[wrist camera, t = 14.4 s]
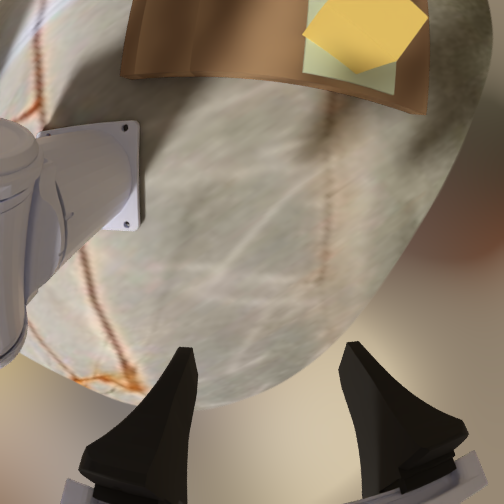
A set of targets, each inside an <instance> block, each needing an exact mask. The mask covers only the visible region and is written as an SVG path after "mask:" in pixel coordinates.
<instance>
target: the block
mask: <svg viewBox="0 0 504 504" xmlns="http://www.w3.org/2000/svg"><path fill="white" fill-rule="evenodd" d="M427 19H428V16H427V15H426V14H425V13H423V12H422V11H421V10H420V9H419V8H418V7H417V6H416V5H415V4H414V3H413V2H412V1H411V0H328V1H327V2H326V3H325V4H324V5H323V7H322V8H321V9H320V11H319V12H318V13H317V15H316V16H315V17H314V19H313V20H312V21H311V23H310V24H309V26H308V27H307V28H306V30H305V31H304V32H303V34H302V35H303V36H305V37H306V38H308V39H309V40H311V41H312V42H314V43H315V44H317V45H318V46H319V47H321V48H322V49H324V50H325V51H326V52H328V53H329V54H331V55H332V56H333V57H335V58H336V59H337V60H339V61H340V62H341V63H343V64H344V65H345V66H346V67H348V68H349V69H350V70H351V71H353V72H354V73H355V74H359V73H362V72H364V71H367V70H370V69H373V68H376V67H379V66H382V65H386V64H389V63H392V62H395V61H397V60H398V59H399V57H400V56H401V55H402V53H403V52H404V51H405V49H406V48H407V46H408V45H409V44H410V42H411V41H412V40H413V38H414V37H415V35H416V34H417V33H418V31H419V30H420V29H421V27H422V26H423V24H424V23H425V22H426V20H427Z"/></svg>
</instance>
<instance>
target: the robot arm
mask: <svg viewBox="0 0 504 504" xmlns="http://www.w3.org/2000/svg"><path fill="white" fill-rule="evenodd" d="M125 124H127V125H128V130H127V131H125V130H124V126H125ZM49 134H51V136H49ZM139 137H140V124H139V123H138V122H137V121H135V120H129V121H115V122H104V123H94V124H86V125H78V126H71V127H64V128H58V129H52V130H47V131H41V132H39V133H38V134H37V136H36V139H35V138H34V136H33V134H32V133H31V132H30V131H29V130H28V129H27V128H25V127H24V126H22V125H20V124H18V123H16V122H13V121H10V120H7V119H3V118H0V369H1V368H3V367H4V366H6V365H7V364H9V363H10V362H11V361H12V360H13V359H14V358H15V357H16V356H17V355H18V353H19V352H20V350H21V348H22V346H23V344H24V342H25V339H26V335H27V329H28V319H27V312H26V306H25V305H27V304H28V303H29V302H30V301H31V300H32V299H33V298H34V296H35V295H36V294H37V293H38V288H40V287H41V286H42V285H43V284H45V283H46V282H47V281H48V280H49V279H50V278H51V277H52V276H53V275H54V274H55V273H56V272H57V271H58V270H59V269H60V268H61V267H62V266H63V265H64V264H65V263H66V262H67V261H68V260H69V259H70V258H71V257H72V256H73V255H74V254H75V253H76V252H77V251H78V250H79V249H80V248H81V247H82V246H83V245H84V244H85V243H86V242H87V241H89V240H90V239H91V238H92V237H93V236H94V235H95V234H96V233H97V232H98V231H100V230H101V229H105V230H122V231H136V230H138V229H139V227H140V202H139ZM126 221H127V222H129V224H130V226H127V225H126V223H125V222H126ZM338 370H339V376H340V382H341V387H342V390H343V393H344V396H345V399H346V402H347V405H348V408H349V411H350V414H351V417H352V420H353V424H354V427H355V431H356V437H357V442H358V448H359V456H360V464H361V476H362V498H363V499H361V500H357V501H354V502H349V503H345V504H460V503H461V502H463V501H465V500H466V499H468V498H469V497H471V496H472V495H474V494H475V493H477V492H478V491H480V490H481V489H483V488H484V487H486V486H487V485H488V482H487V479H486V477H485V474H484V472H483V469H482V466H481V464H480V462H479V459H478V457H477V454H476V452H475V450H473V451H471V452H469V453H468V454H466V455H464V456H462V457H460V458H459V459H457V460H456V461H454V460H453V457H454V456H455V453H454V449H455V448H456V447H458V446H459V445H460V444H461V443H462V442H463V441H464V440H465V439H466V438H467V437H468V435H469V433H468V431H467V429H466V427H465V424H464V422H463V421H462V420H460V419H458V418H455V417H453V416H450V415H448V414H446V413H443V412H441V411H439V410H437V409H436V408H433V407H432V406H430V405H429V404H427V403H425V402H424V401H422V400H421V399H419V398H418V397H416V396H415V395H413V394H412V393H411V392H409V391H408V390H407V389H406V388H404V387H403V386H402V385H401V384H400V383H399V382H397V381H396V380H395V379H394V378H393V377H392V376H391V375H390V374H389V373H388V372H387V371H386V370H385V369H384V368H383V367H382V366H381V365H380V364H379V363H378V362H377V361H376V360H375V359H374V357H373V356H372V355H371V354H370V353H369V352H368V351H367V350H366V349H365V348H364V347H363V345H361V343H360V342H359V341H355V342H347V344H346V347H345V350H344V354H343V357H342V360H341V363H340V366H339V369H338ZM197 384H198V372H197V368H196V363H195V358H194V353H193V348H189V347H179V348H178V349H177V351H176V353H175V354H174V356H173V358H172V360H171V361H170V363H169V365H168V366H167V368H166V369H165V371H164V372H163V374H162V375H161V377H160V378H159V380H158V381H157V383H156V384H155V385H154V387H153V388H152V389H151V391H150V392H149V393H148V395H147V396H146V397H145V398H144V399H143V400H142V402H141V403H140V404H139V405H138V406H137V407H136V408H135V409H134V410H133V411H132V412H131V413H130V414H129V415H128V416H127V417H126V418H125V419H124V420H123V421H122V422H121V423H119V424H118V425H117V426H116V427H114V428H113V429H112V430H111V431H109V432H108V433H107V434H105V435H104V436H102V437H101V438H99V439H98V440H96V441H95V442H93V443H91V444H90V445H88V446H87V447H86V449H85V451H84V453H83V455H82V459H81V462H80V465H79V469H78V470H79V471H80V473H81V474H82V475H83V476H85V477H86V478H88V479H89V480H90V481H92V482H93V483H95V487H94V488H92V487H90V486H87V485H84V484H82V483H79V482H77V481H74V480H71V479H69V478H68V479H67V480H66V483H65V488H64V491H63V495H62V499H61V503H60V504H187V458H188V440H189V432H190V427H191V422H192V416H193V411H194V406H195V401H196V395H197Z"/></svg>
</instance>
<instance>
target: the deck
mask: <svg viewBox="0 0 504 504" xmlns="http://www.w3.org/2000/svg"><path fill="white" fill-rule="evenodd" d="M411 1H412V2H413V3H414V4H415V5H416V6H417V7H418V8H419V9H420V10H421V11H422V12H423V13H425V14H426V15H427V16H428V19H427V20H426V22H425V23H424V24H423V26H422V27H421V29H420V30H419V31H418V33H417V34H416V35H415V37H414V38H413V40H412V41H411V42H410V44H409V45H408V46H407V48H406V49H405V51H404V52H403V53H402V55H401V56H400V57H399V59H398V60H397V61H396V76H395V89H394V95H390V94H387V93H384V92H380V91H377V90H374V89H371V88H367V87H364V86H360V85H357V84H353V83H349V82H345V81H341V80H337V79H332V78H328V77H323V76H318V75H313V74H308V73H302V70H303V60H304V49H305V38H306V37H305V36H303V35H302V34H303V32H304V31H305V30H306V26H307V14H308V0H133V3H132V7H131V11H130V16H129V21H128V26H127V31H126V36H125V42H124V49H123V55H122V63H121V71H120V76H121V77H124V78H128V79H131V80H134V79H145V78H160V77H230V78H245V79H256V80H266V81H274V82H282V83H289V84H296V85H302V86H308V87H313V88H318V89H323V90H328V91H333V92H337V93H342V94H346V95H350V96H354V97H358V98H362V99H365V100H369V101H372V102H376V103H379V104H382V105H386V106H389V107H392V108H395V109H398V110H401V111H404V112H407V113H410V114H419V115H426V112H427V101H428V88H429V67H430V35H429V15H428V3H427V0H411Z"/></svg>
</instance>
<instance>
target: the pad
mask: <svg viewBox="0 0 504 504" xmlns="http://www.w3.org/2000/svg"><path fill="white" fill-rule="evenodd" d="M327 1H328V0H308V14H307V26H306V28H307V27H308V26H309V24H310V23H311V21H312V20H313V19H314V17H315V16H316V15H317V13H318V12H319V11H320V9H321V8H322V7H323V5H324V4H325V3H326V2H327ZM302 73H308V74H313V75H318V76H323V77H328V78H332V79H337V80H341V81H345V82H349V83H353V84H357V85H360V86H364V87H367V88H371V89H374V90H377V91H380V92H384V93H387V94H390V95H394V89H395V76H396V61H395V62H392V63H389V64H386V65H382V66H379V67H376V68H373V69H370V70H367V71H364V72H362V73H359V74H355V73H354V72H353V71H351V70H350V69H349V68H348V67H346V66H345V65H344V64H343V63H341V62H340V61H339V60H337V59H336V58H335V57H333V56H332V55H331V54H329V53H328V52H326V51H325V50H324V49H322V48H321V47H319V46H318V45H317V44H315V43H314V42H312V41H311V40H309V39H308V38H305V49H304V60H303V70H302Z"/></svg>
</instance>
